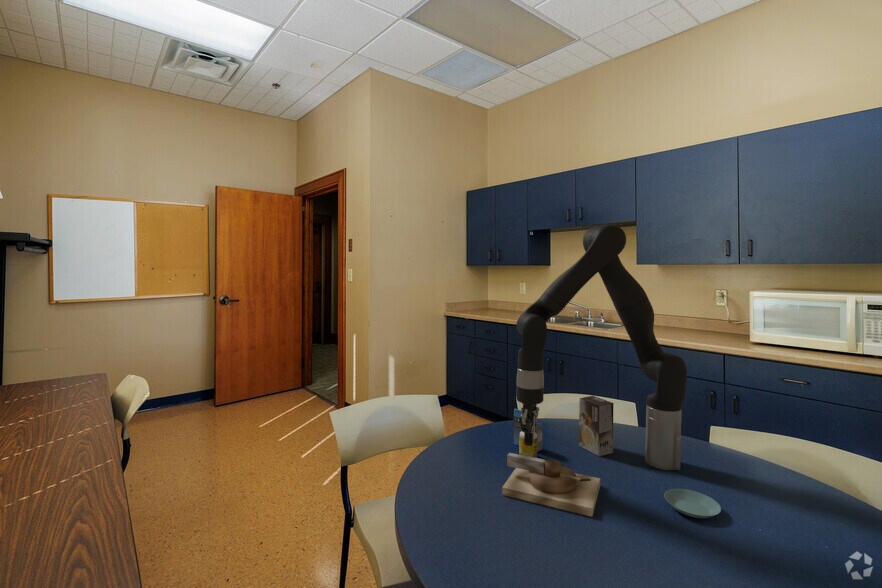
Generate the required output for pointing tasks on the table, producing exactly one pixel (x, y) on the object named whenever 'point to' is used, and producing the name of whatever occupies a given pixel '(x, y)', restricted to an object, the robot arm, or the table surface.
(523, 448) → the supplement bottle
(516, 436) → the label tape box
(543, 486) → the dial
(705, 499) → the saucer
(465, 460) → the table surface
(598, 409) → the coffee box
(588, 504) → the base plate
